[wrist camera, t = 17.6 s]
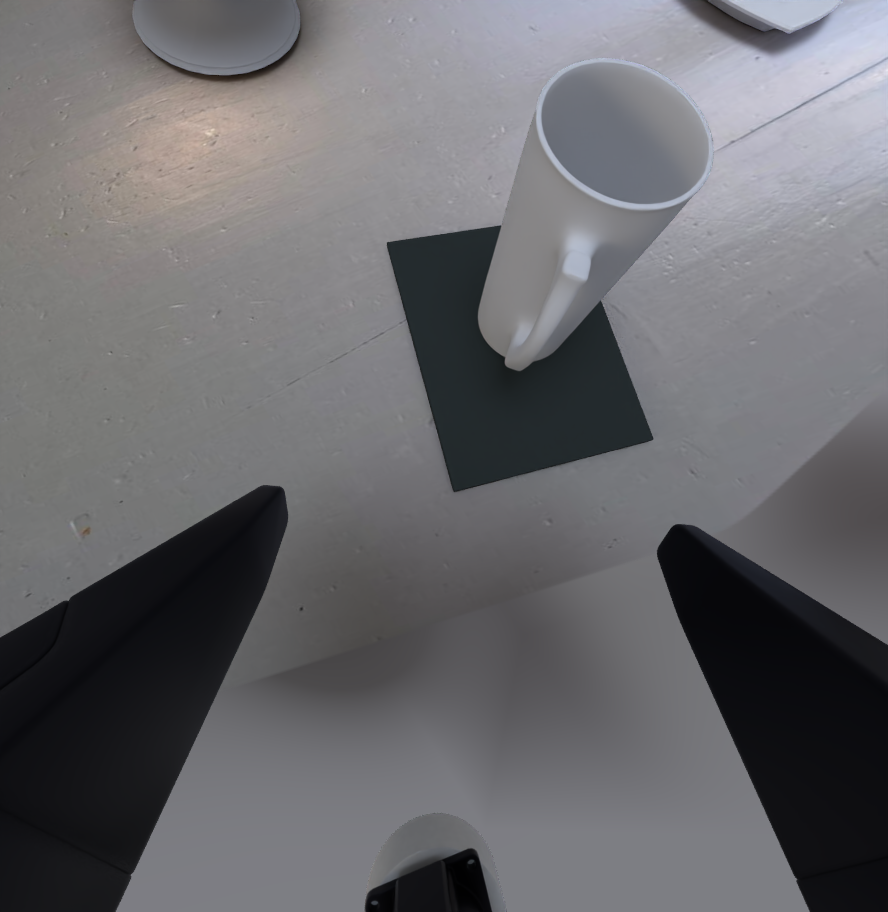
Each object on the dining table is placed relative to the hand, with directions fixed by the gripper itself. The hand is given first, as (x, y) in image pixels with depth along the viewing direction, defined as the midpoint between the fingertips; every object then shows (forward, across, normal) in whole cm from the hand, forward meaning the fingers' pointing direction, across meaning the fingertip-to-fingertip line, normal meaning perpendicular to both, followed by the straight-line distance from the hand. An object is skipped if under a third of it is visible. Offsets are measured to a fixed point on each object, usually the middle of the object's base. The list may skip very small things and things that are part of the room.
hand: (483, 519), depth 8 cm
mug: (+18, -4, 0) cm, 19 cm away
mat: (+19, -4, 0) cm, 19 cm away
